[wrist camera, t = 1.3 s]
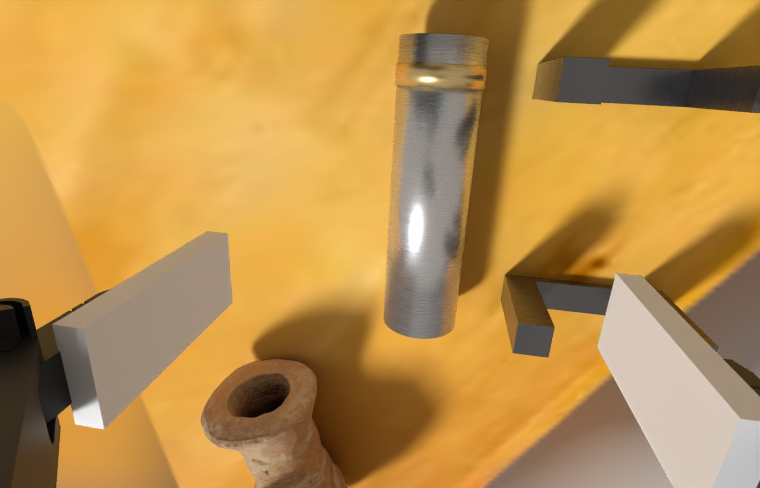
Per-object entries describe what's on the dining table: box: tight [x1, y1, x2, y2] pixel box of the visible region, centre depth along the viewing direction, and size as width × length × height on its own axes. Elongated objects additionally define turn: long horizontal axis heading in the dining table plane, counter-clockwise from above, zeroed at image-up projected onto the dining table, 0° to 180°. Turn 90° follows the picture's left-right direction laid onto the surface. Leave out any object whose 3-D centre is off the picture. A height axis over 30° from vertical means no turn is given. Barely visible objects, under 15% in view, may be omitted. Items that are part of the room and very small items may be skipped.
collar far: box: [501, 275, 718, 357], centre depth 28 cm, size 2×10×7 cm, turn 87°
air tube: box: [383, 33, 489, 339], centre depth 28 cm, size 18×5×5 cm, turn 177°
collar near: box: [533, 57, 760, 113], centre depth 23 cm, size 2×10×8 cm, turn 87°
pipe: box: [201, 359, 347, 488], centre depth 35 cm, size 9×16×10 cm, turn 17°
